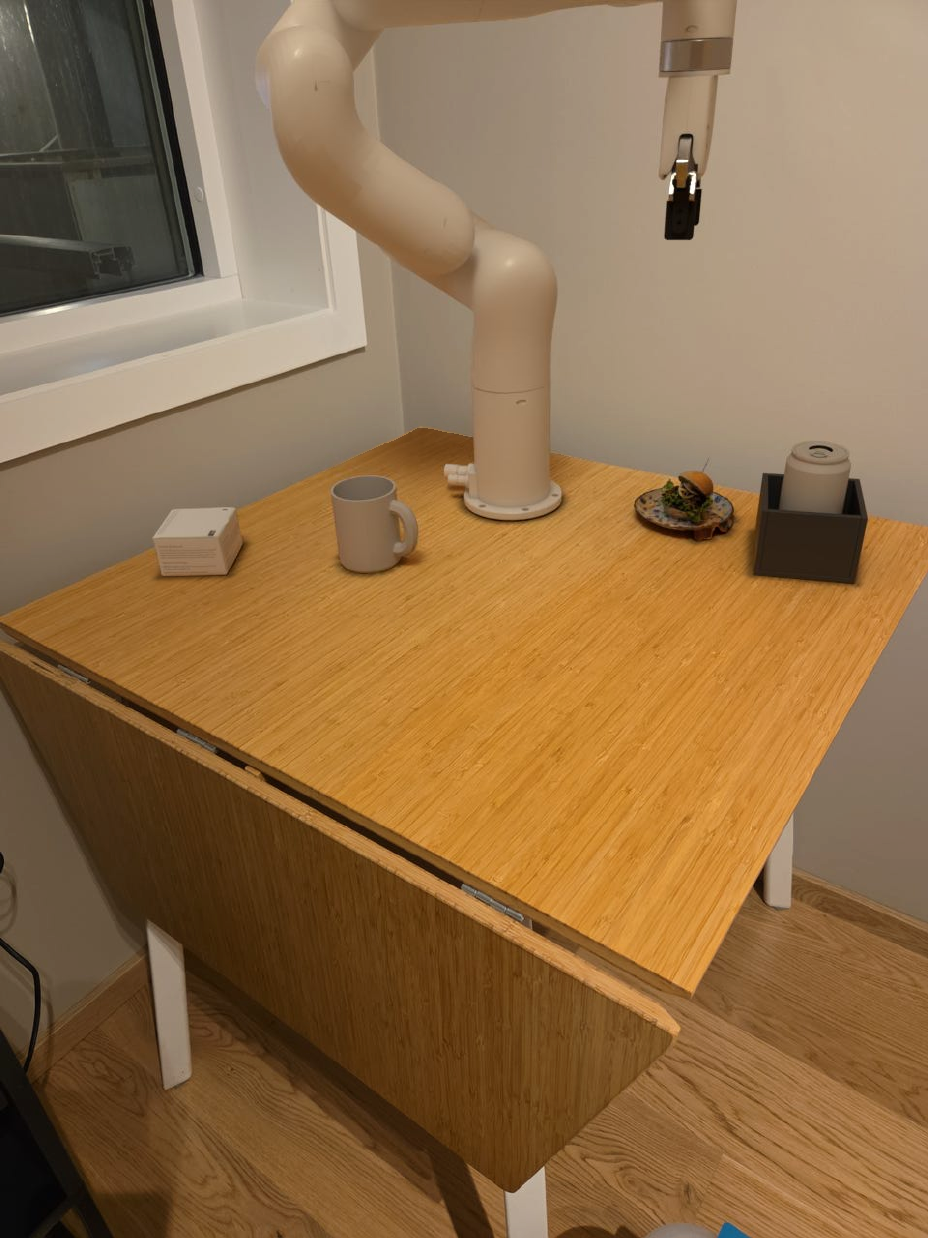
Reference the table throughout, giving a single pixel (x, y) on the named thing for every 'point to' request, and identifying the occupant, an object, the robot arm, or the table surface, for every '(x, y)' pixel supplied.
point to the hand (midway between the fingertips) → (682, 231)
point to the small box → (198, 541)
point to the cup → (371, 524)
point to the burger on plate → (687, 506)
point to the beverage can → (815, 478)
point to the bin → (808, 536)
